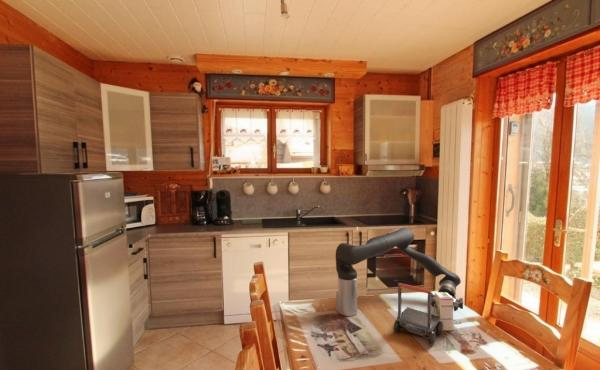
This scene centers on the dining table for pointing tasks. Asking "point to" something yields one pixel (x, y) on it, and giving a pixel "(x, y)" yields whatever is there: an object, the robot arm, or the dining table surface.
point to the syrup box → (444, 309)
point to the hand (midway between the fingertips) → (443, 306)
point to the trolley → (418, 317)
